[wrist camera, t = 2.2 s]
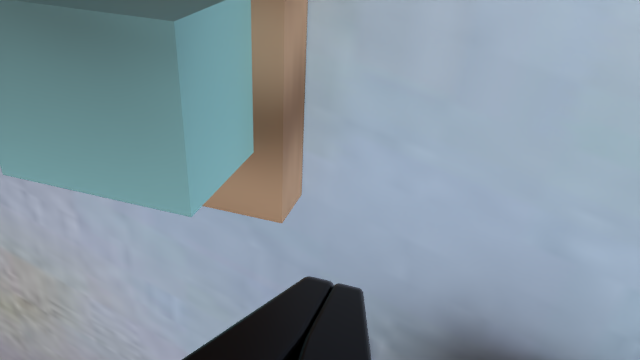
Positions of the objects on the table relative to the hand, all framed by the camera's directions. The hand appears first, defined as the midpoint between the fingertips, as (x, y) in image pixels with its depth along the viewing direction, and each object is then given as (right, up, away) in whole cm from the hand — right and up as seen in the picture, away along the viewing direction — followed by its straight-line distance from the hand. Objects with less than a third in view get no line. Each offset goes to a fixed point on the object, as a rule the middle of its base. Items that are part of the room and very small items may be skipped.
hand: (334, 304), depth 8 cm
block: (-5, +5, +9) cm, 12 cm away
